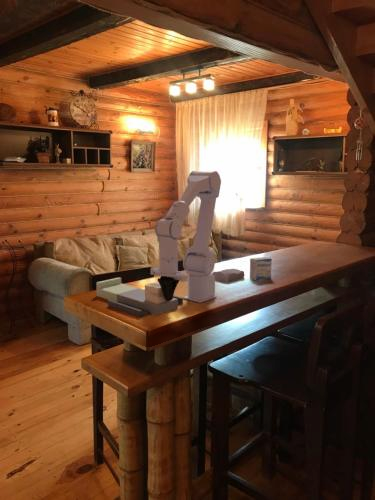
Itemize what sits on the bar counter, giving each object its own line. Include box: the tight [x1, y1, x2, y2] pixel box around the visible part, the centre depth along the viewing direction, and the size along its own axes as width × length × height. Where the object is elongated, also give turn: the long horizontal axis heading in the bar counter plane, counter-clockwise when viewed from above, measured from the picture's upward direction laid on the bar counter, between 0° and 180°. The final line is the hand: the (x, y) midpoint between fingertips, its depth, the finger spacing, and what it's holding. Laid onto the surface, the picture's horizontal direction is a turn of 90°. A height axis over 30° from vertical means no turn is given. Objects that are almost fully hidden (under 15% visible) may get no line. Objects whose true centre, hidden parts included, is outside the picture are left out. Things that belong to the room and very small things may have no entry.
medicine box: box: [249, 256, 273, 281], centre depth 178 cm, size 8×4×9 cm, turn 115°
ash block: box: [144, 281, 166, 304], centre depth 139 cm, size 6×6×5 cm
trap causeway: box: [95, 277, 184, 318], centre depth 147 cm, size 19×30×5 cm, turn 47°
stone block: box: [212, 268, 245, 283], centre depth 179 cm, size 12×5×10 cm
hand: (168, 300), depth 136 cm, fingers closed
